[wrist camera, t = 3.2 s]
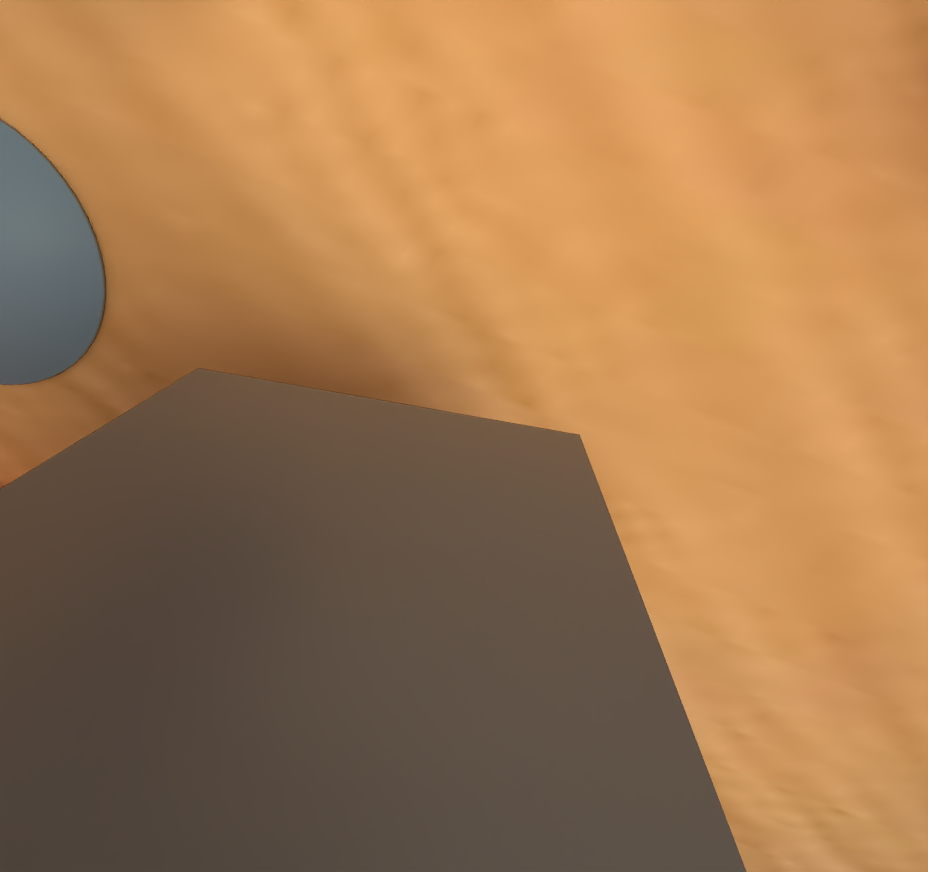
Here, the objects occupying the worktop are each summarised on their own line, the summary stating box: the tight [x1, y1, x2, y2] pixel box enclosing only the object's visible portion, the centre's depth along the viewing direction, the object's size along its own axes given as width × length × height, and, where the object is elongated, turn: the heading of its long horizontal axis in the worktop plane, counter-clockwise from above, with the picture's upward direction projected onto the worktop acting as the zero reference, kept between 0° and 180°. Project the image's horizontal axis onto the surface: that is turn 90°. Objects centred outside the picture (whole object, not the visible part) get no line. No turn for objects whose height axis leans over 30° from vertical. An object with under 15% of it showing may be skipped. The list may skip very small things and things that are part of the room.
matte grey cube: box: [0, 368, 746, 872], centre depth 8 cm, size 8×8×9 cm
